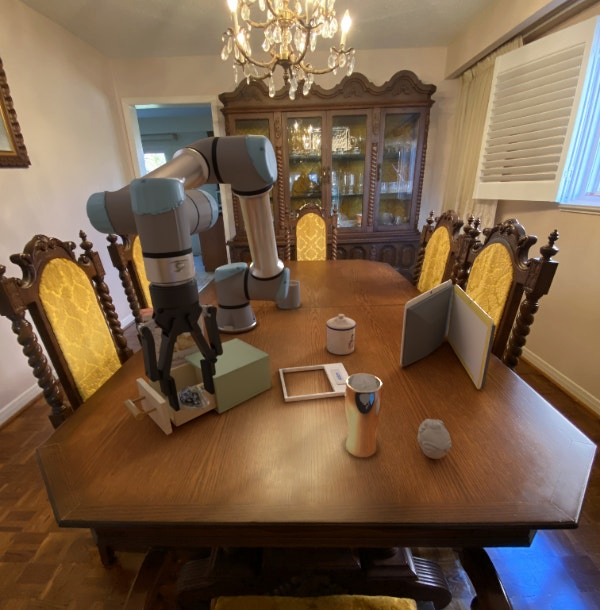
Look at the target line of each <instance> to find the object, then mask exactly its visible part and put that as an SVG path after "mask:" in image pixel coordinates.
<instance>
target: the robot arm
mask: <svg viewBox="0 0 600 610" xmlns="http://www.w3.org/2000/svg"><path fill="white" fill-rule="evenodd" d="M277 167H278V164H277V158H276V153H275V151H274V147H273V145H272V142H271V141H270V139H269V138H268V137H267V136H265V135H262V134H257V135H256V134H249V133H248V134H238V135H227V136H226V135H225V136H209V137H205V138H201V139H199V140H196V141H194V142H191V143H190V144H188V145H186V146H184V147H182V148H180V149H178V150H177V151H176V152H174V154H173V156H172V158H171V160H168V161H166V162H165V163H163V164H162V165H160V166H158V167H157V168H154V169H153V170H151V171H150V172H148V173H145V175H142V176H141V177H139V178H137V177H136V178H134V179H132V180H131V181H130V182H129V184H127V185H125V186H123V187H121V188H120V189H117V190H113V191H109V190H104V191H100V192H99V191H98V192H94V193H92V194H91V195H89V197H88V198H87V201H86V205H85V210H86V217H87V218H88V221H89V223H90V224H91V226H92V228H94V229H95V230H96V231H97V232H99V233H101V234H104V235H116V236H123V235H125V236H126V235H127V236H128V235H137V236H138V239H139V243H140V248H141V255H142V261H143V267H144V272H145V278H146V281H148V282H149V285H148V291H149V297H150V302H151V305H152V307H151V308H153V315H152V319H151V320H149V321H147V322H145V323H144V324H143V322H137V324H136V325H135V329H136V331H137V332H138V334H139V336H140V341H141V349H142V350H141V351H142V358H143V366H144V374H145V377H146V378H148V380H149V379H150V380H151V381H152V382H156V381H159V383H160V388H161V392H162V393H163V394H164V395H165V396H166V397H167V396H168V400H169V405H170V406H171V407H172V408H173V409H174V410H175V411H176V412H177V411H179V410H180V406H179V400H178V395H177V390H176V385H175V379H174V378H173V377H172V376H170V371H171V364H172V358H173V352H174V345H175V343H176V341H177V336H179V335H181V334H183V333H188V332H189V333H190V334H191V336H192V338H193V340H194V341H195V343H196V345H197V347H198V348H199V350H200V352H201V354H202V355H203V357H204V358H205V360H204V359H202V360H200V365H201V371H202V378H203V384H204V390H206V391H207V392H208V393H210V394H211V395H213V394H215V390H214V383H213V376H214V375H216V369H215V363H216V362H217V360H218V359H217V358H216V357H217V356H221V355H222V354H223V348H222V340H221V336H220V333H222V334H228V335H229V334H231V335H233V334H241V333H246V332H249V331H252V330H254V329H255V328H256V327H257V325H258V324H257V323H258V322H257V318H256V315H255V313H254V310H253V308H252V306H251V301H255V302H256V301H258V302H273V301H283V300H285V299H286V297H287V294H288V288H289V280H291V279H290V277H291V271H290V268H289V267H285V264H284V262H283V261H282V260H281V259H280V258H279V256H278V255H279V254H278V249H277V248H278V247H277V242H276V241H277V240H276V235H275V227H274V222H273V215H272V214H273V213H272V206H271V200H270V194H269V193H270V192H271V191H272V189H273V187H274V183H276V182H277V179H278V168H277ZM205 185H230V188H231V191H232V194H233V195H235V196H236V197H238V199H239V204H240V209H241V214H242V218H243V219H242V220H243V222H244V228H245V232H246V236H247V242H248V247H249V251H250V252H249V253H250V257H251V261H252V262H251V264H250V265H248V264H247V263H246V262H244V261H243V262H232V263H228V264H224V265H221V266H219V267H217V268H215V271H214V284H215V285H214V286H215V291H216V292H215V293H216V301H217V306H218V307H217V306H215V305H212V304H210V303H206V304H203V305H202V304H201V302H200V293H199V286H198V280H197V279H196V278H194V277H196V273H197V272H196V267H195V260H194V253H193V247H192V246H193V245H192V238H191V236H194V235H197V234H202V233H204V232H207V231H208V230H209V229H210V228H212V227H213V226H214V225H215V224H216V222H217V220H218V218H219V207H218V206H219V205H218V204H217V201H216V199H215V198H214V196H213V195H211V194H210V193H209V192H208V191H205V190H203V189H198V188H202V186H205ZM248 266H249V267H248ZM200 315H201V316H202V317H203V321H204V326H205V327H204V328H205V331H206V334H207V339H208V341H207V340H206V338H205V335H204V336H203V334H202V330H201V328H200V327H199V325H198V323H197V322H198V320H199V317H200ZM155 326H158V327H160V328H161V329H162V331H161V338H162V340H161V347H160V354H159V360H158V367H157V358H156V349H155V341H154V337H153V335H154V334H155ZM210 348H211V349H210Z"/></svg>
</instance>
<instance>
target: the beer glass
mask: <svg viewBox="0 0 600 610" xmlns="http://www.w3.org/2000/svg"><path fill="white" fill-rule="evenodd" d="M382 408H383V381H382V380H381V378H380V377H378V376H376V375H374V374H371V373H366V372H360V373H357V372H356V373H354V374H351V375H349V377H348V378H347V380H346V389H345V395H344V413H345V418H346V425H347V435H346V439H345V449H346V451H347V452H348V453H349V454H351V455H352V456H354V457H357V458H369V457H371V456H373V455H374V454H375V453H376V451H377V441H376V431H377V427H378V425H379V421H380V418H381V413H382Z"/></svg>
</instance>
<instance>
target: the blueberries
mask: <svg viewBox="0 0 600 610" xmlns="http://www.w3.org/2000/svg"><path fill="white" fill-rule="evenodd" d="M204 392H205V391H204V389H203V386H202V387H201V386H194V387H192V386H191V387H190V386H187V387H185V388H184V389H181V390H180V392H177V395H178V400H179V406H180V409H181V410H189V409H192V410H193V409H194V410H196V409H197V410H200V409H204V408H206V407H207V406H208V405H209V403H210V402H209V401H208V398H206V397H205V396H204V395H205V394H204Z"/></svg>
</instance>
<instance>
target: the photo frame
mask: <svg viewBox="0 0 600 610" xmlns="http://www.w3.org/2000/svg"><path fill="white" fill-rule="evenodd" d="M321 369H322V370H324V372H325V374H326V377H327V379H328V381H329V383H330V386H331V388H332V390H333V391H328V392H318V393H310V394H301V395H300V394H299V395H291V396H288V392H287V388H286V383H285V378H284V373H292V372H302V371H304V372H305V371H312V370H321ZM278 370H279V372H278V373H279V377H280V382H281V388H282V392H283V396H284V397H283V398H284V402H285V403H287V402H295V401H296V402H297V401H305V400H313V399H325V398H333V397H343V396H345V389H346V380H347V378H348V377H349V376H350V375H349V374H348V372H347V370H346V368H345V366H344V364H343V362H336V363H326V364H317V365H305V366H295V367H287V368H286V367H285V368H279V369H278Z"/></svg>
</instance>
